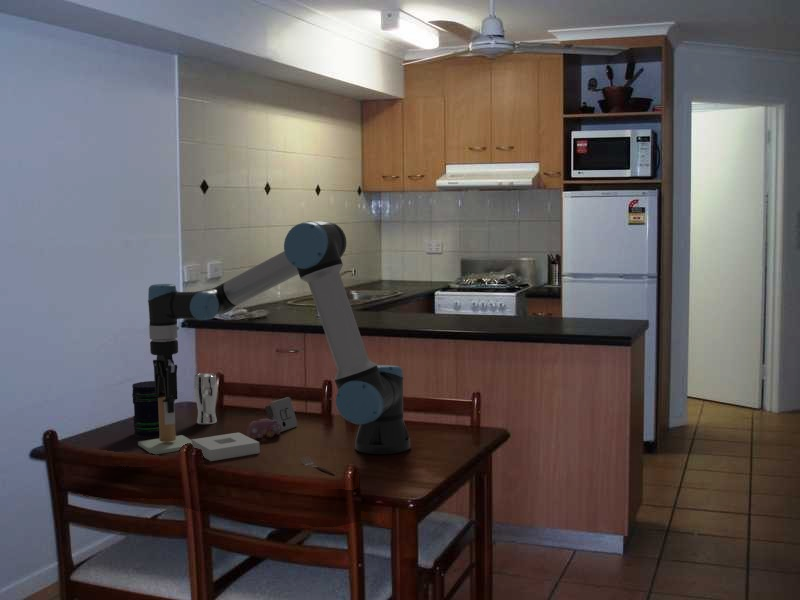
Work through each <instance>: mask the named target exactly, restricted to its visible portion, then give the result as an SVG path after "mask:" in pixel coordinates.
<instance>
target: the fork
mask: <svg viewBox="0 0 800 600" xmlns="http://www.w3.org/2000/svg"><path fill="white" fill-rule="evenodd" d="M300 459H301V461H302V463H303V465H304V466H309V465H310V467H311V468H314V469H317V470H319V471H320V472H322V473H325V474H328V475H332V476H336V474H334V473H333V472H331V471H329V470H328V469H327V468H323V467H320V466H316V465H314V462H313V461H312V459H311V458H310V456H309V455H307V456H306V455H305V456H300Z"/></svg>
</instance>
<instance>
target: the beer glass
mask: <svg viewBox="0 0 800 600" xmlns="http://www.w3.org/2000/svg"><path fill="white" fill-rule="evenodd" d="M193 384H194V385H193V387H194V388H193V389H194V391H193V392H194V398H195V402H196V407H197V418H196V419H197V420H196V423H197V424H198V425H213V424H216V423H217V422H218V420H217V416H216V415H217V414H216V405H217V397H218V381H217V374H216V373H212V372H209V373H208V372H206V373H205V372H204V373H197V374H195V375H194V383H193Z"/></svg>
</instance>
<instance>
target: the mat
mask: <svg viewBox="0 0 800 600" xmlns="http://www.w3.org/2000/svg"><path fill="white" fill-rule="evenodd" d="M187 443H191V444H192V439H190V438H188V437H187V436H185V435H183V434H180V435H176V440H174V441H170V442H162V441H160V437H159V438H153V439H147V440H140V441H137V446H139V447H140V448H142V449H143V450H145V451H147V452H148V453H149V454H151V453H153V454H155V455H160V454H161V455H162V454H166V453H167V454H168V453H172V452H173V453H174V452H180V451H179V450H180V448H181V447H182V446H183V445H185V444H187Z"/></svg>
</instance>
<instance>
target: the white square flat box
mask: <svg viewBox="0 0 800 600" xmlns="http://www.w3.org/2000/svg"><path fill="white" fill-rule="evenodd" d="M191 440H192V445H193V447H194V448H198V449H201V450H202V453H203V456H204V457H203V456H202V457H203V458H205V459H206V460H208V461H209V462H213V461H219V460H226V459H232V458H239V457H245V456H250V455H251V456H252V455H256V454H257V455H258V454H260V453H261V450H260V449H261V448H260V441H257V440H256V439H253V438H251V437H248V436H247V435H245V434H243V433H241V432H233V433H226V434H219V435H212V436H206V437H200V438H191Z"/></svg>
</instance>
